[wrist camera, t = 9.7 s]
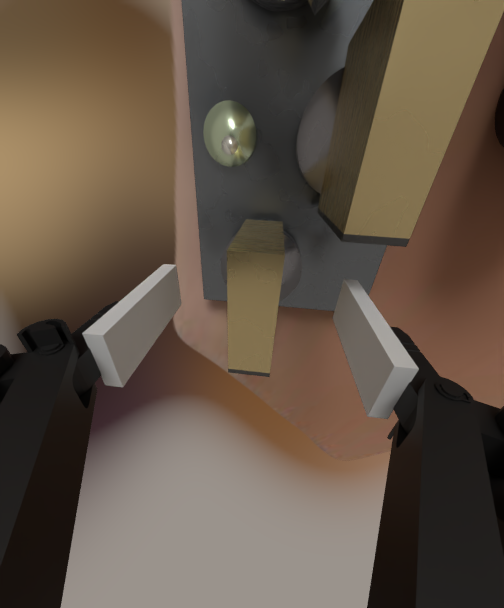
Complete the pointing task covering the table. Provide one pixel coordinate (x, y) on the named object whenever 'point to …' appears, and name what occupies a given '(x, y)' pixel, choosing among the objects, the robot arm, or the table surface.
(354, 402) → the table surface
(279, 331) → the table surface
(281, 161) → the levelling plate
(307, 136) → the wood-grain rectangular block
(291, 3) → the tan block-handled knob
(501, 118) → the coffee mug
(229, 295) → the tan bar handle
